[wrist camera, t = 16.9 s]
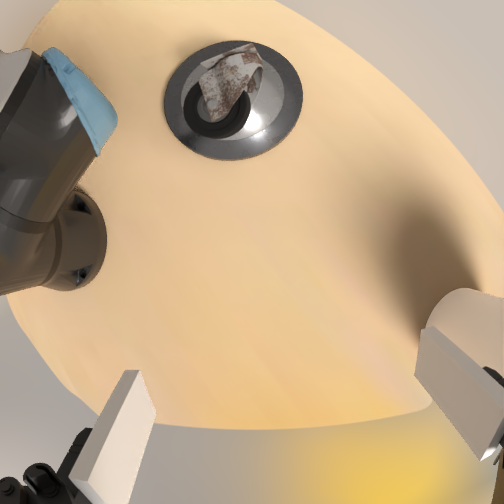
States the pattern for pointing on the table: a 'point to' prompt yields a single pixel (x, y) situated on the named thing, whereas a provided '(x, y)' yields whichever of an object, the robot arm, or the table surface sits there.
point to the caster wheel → (224, 93)
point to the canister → (473, 325)
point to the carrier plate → (262, 110)
